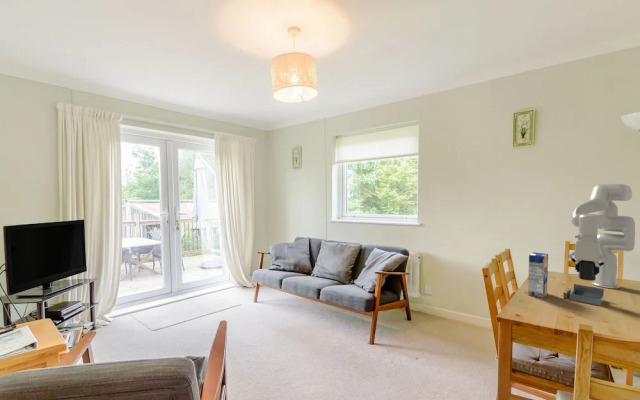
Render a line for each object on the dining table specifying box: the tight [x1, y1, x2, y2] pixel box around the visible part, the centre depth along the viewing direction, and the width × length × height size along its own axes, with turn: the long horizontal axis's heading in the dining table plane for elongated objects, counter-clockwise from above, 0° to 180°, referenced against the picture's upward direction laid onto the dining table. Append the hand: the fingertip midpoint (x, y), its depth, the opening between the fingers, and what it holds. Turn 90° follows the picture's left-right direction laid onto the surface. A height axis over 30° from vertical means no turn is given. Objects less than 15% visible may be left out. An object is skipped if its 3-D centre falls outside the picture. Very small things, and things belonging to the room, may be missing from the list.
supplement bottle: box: [578, 260, 596, 282], centre depth 162 cm, size 7×7×12 cm
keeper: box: [568, 283, 605, 307], centre depth 163 cm, size 12×12×6 cm
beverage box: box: [527, 251, 549, 299], centre depth 172 cm, size 7×11×22 cm, turn 135°
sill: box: [562, 288, 572, 300], centre depth 169 cm, size 12×1×3 cm, turn 132°
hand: (587, 272), depth 163 cm, fingers closed on supplement bottle, 6 cm apart
